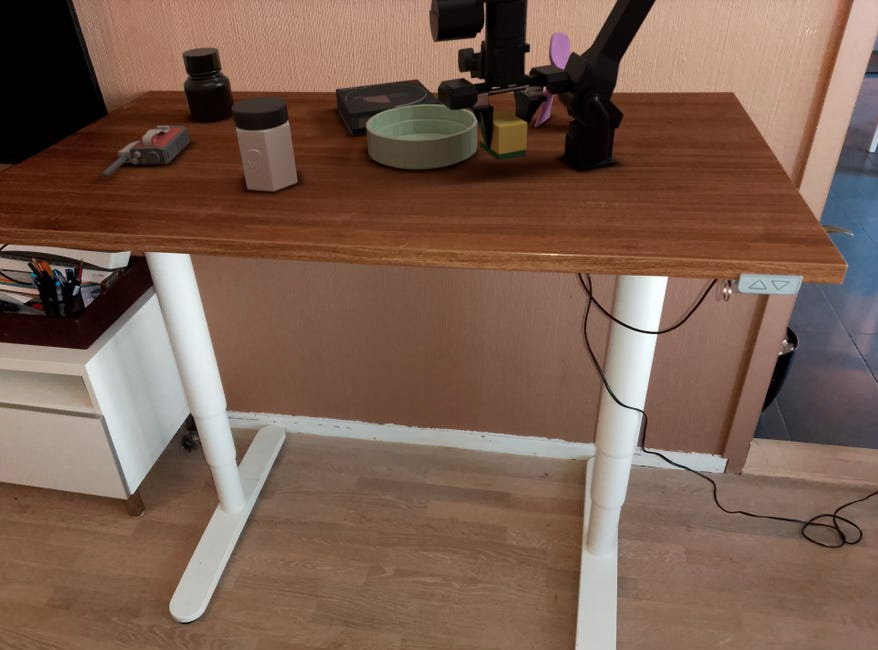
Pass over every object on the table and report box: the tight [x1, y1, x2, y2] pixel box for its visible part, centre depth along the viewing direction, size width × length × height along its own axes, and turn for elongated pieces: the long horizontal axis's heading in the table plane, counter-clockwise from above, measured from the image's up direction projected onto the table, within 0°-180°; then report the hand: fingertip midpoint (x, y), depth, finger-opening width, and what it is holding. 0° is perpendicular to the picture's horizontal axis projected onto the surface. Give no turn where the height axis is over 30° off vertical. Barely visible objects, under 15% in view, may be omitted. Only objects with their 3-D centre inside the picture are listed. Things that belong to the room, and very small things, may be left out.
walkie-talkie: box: [101, 125, 191, 178], centre depth 123 cm, size 9×4×20 cm
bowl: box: [366, 104, 479, 170], centre depth 119 cm, size 18×18×5 cm
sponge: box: [479, 109, 528, 162], centre depth 108 cm, size 4×7×5 cm, turn 18°
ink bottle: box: [181, 47, 235, 122], centre depth 140 cm, size 10×9×12 cm
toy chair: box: [534, 31, 571, 128], centre depth 123 cm, size 8×9×15 cm
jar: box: [232, 96, 298, 193], centre depth 110 cm, size 9×8×12 cm
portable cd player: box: [335, 78, 442, 137], centre depth 135 cm, size 16×17×4 cm
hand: (502, 144), depth 109 cm, fingers closed on sponge, 4 cm apart
